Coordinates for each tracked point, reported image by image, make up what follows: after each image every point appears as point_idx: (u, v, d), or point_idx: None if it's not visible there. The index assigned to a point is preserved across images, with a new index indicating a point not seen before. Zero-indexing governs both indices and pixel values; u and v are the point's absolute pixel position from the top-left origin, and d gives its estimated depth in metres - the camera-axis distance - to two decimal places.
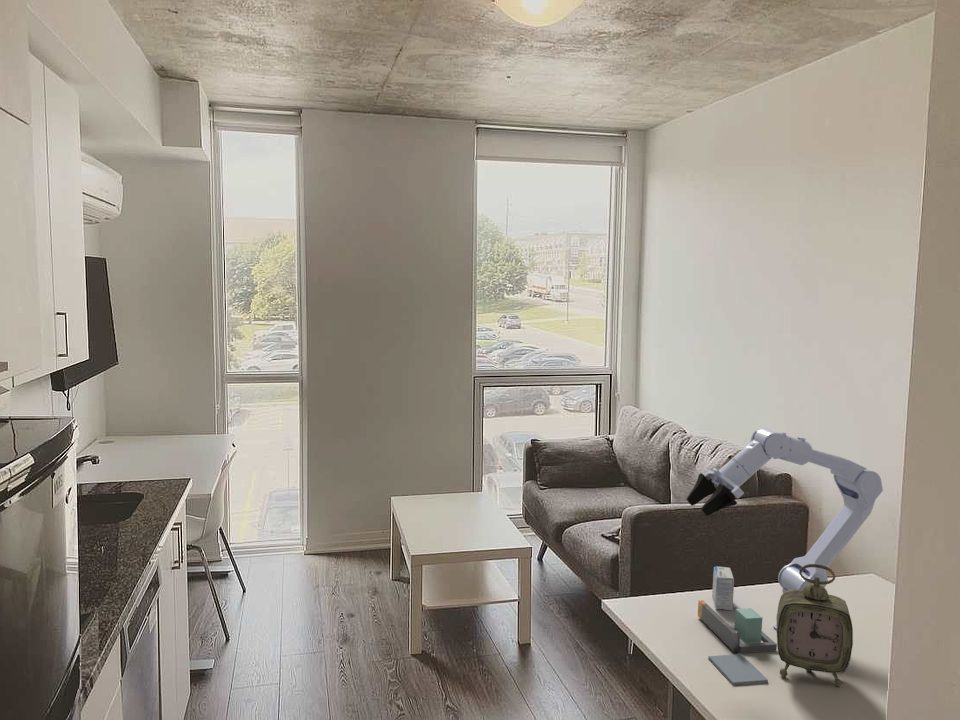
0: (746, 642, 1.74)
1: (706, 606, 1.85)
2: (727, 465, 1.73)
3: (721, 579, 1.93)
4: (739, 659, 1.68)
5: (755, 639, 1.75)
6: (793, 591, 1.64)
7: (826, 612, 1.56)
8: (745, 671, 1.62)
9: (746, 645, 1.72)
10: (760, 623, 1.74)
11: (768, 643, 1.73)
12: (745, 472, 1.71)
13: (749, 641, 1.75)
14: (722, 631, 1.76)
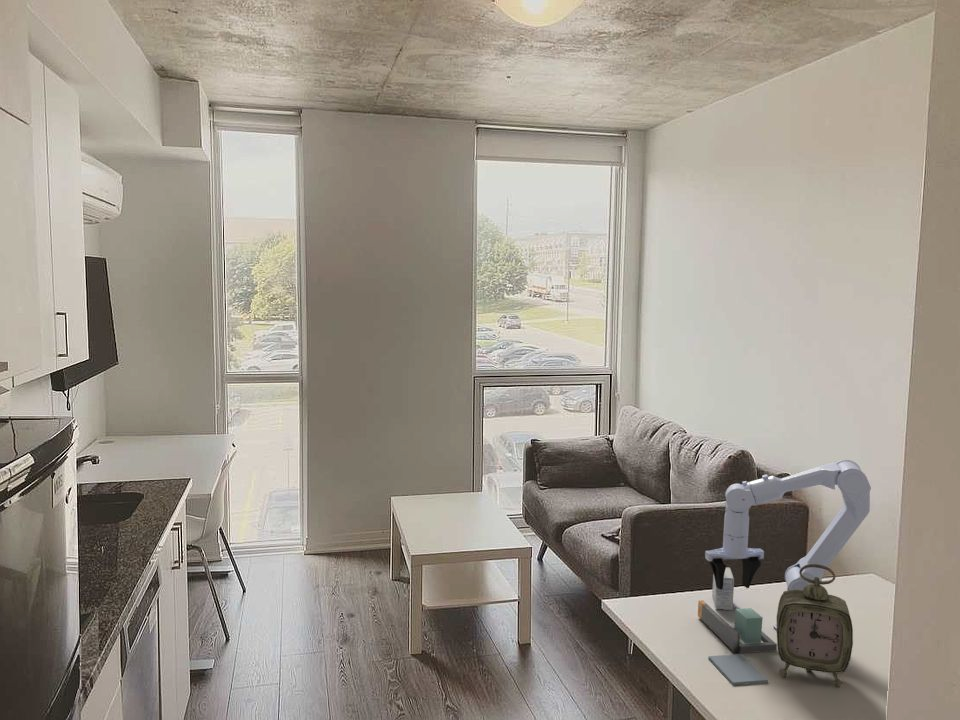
0: (746, 642, 1.74)
1: (706, 606, 1.85)
2: None
3: None
4: (739, 659, 1.68)
5: (755, 639, 1.75)
6: (793, 591, 1.64)
7: (826, 612, 1.56)
8: (745, 671, 1.62)
9: (746, 645, 1.72)
10: (760, 623, 1.74)
11: (768, 643, 1.73)
12: (724, 535, 1.83)
13: (749, 641, 1.75)
14: (722, 631, 1.76)
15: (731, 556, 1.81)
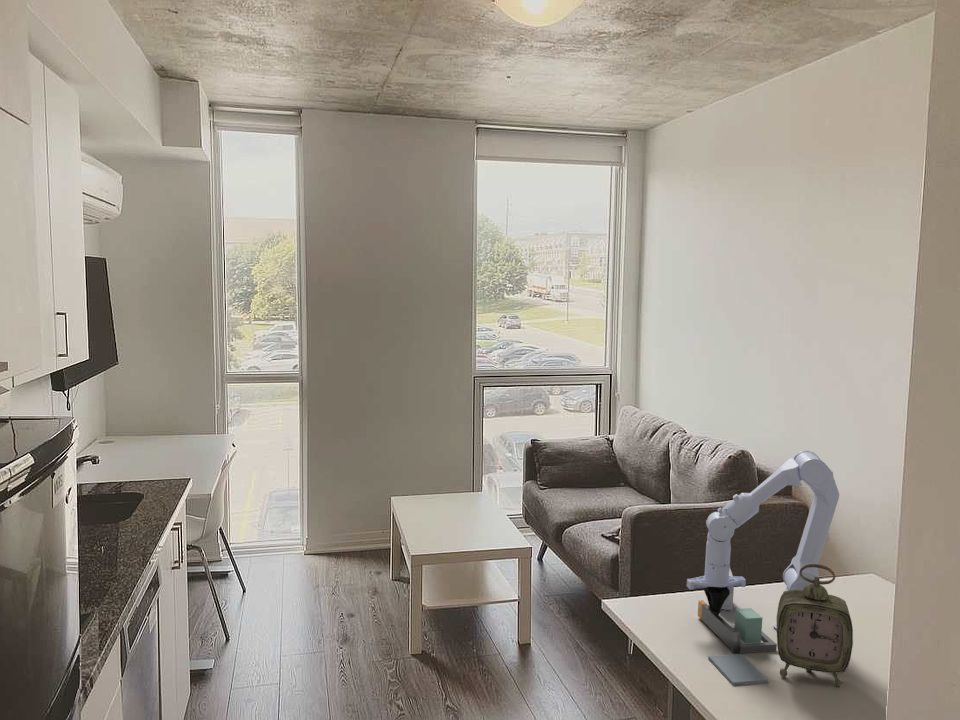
0: (746, 642, 1.74)
1: (706, 606, 1.85)
2: None
3: None
4: (739, 659, 1.68)
5: (755, 639, 1.75)
6: (793, 591, 1.64)
7: (826, 612, 1.56)
8: (745, 671, 1.62)
9: (746, 645, 1.72)
10: (760, 623, 1.74)
11: (768, 643, 1.73)
12: (706, 563, 1.83)
13: (749, 641, 1.75)
14: (722, 631, 1.76)
15: (712, 585, 1.81)
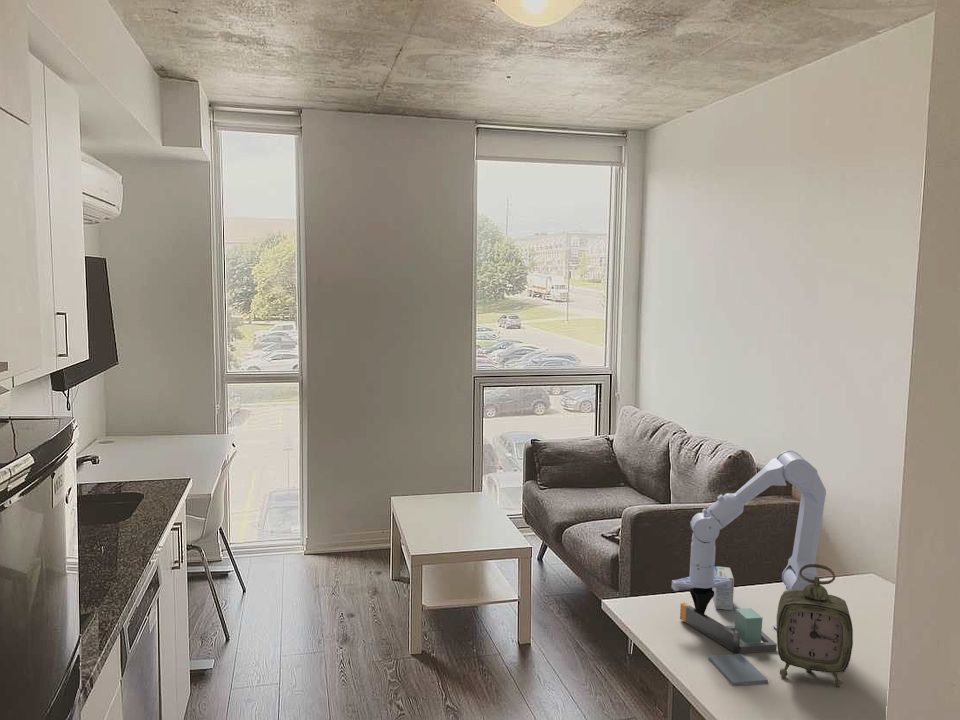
0: (746, 642, 1.74)
1: (692, 608, 1.84)
2: None
3: None
4: (739, 659, 1.68)
5: (755, 639, 1.75)
6: (793, 591, 1.64)
7: (826, 612, 1.56)
8: (745, 671, 1.62)
9: (746, 645, 1.72)
10: (760, 623, 1.74)
11: (768, 643, 1.73)
12: (691, 564, 1.83)
13: (749, 641, 1.75)
14: (717, 632, 1.76)
15: (697, 586, 1.81)
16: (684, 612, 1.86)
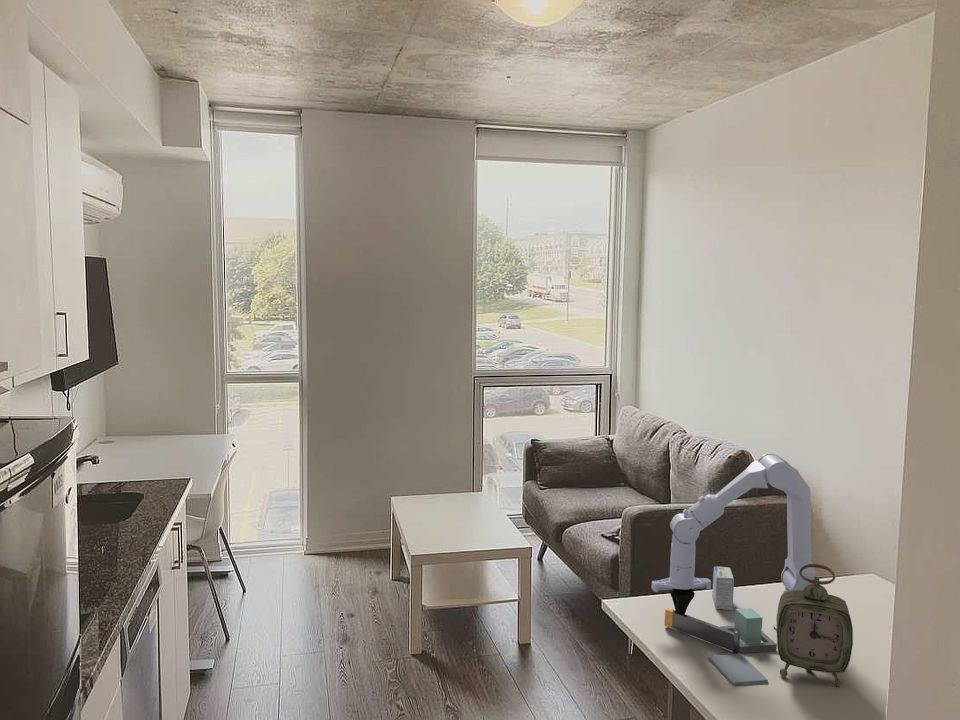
0: (746, 642, 1.74)
1: (679, 613, 1.81)
2: None
3: (721, 579, 1.93)
4: (739, 659, 1.68)
5: (755, 639, 1.75)
6: (793, 591, 1.64)
7: (826, 612, 1.56)
8: (745, 671, 1.62)
9: (746, 645, 1.72)
10: (760, 623, 1.74)
11: (768, 643, 1.73)
12: (671, 565, 1.82)
13: (749, 641, 1.75)
14: (713, 634, 1.74)
15: (677, 587, 1.80)
16: (670, 618, 1.82)
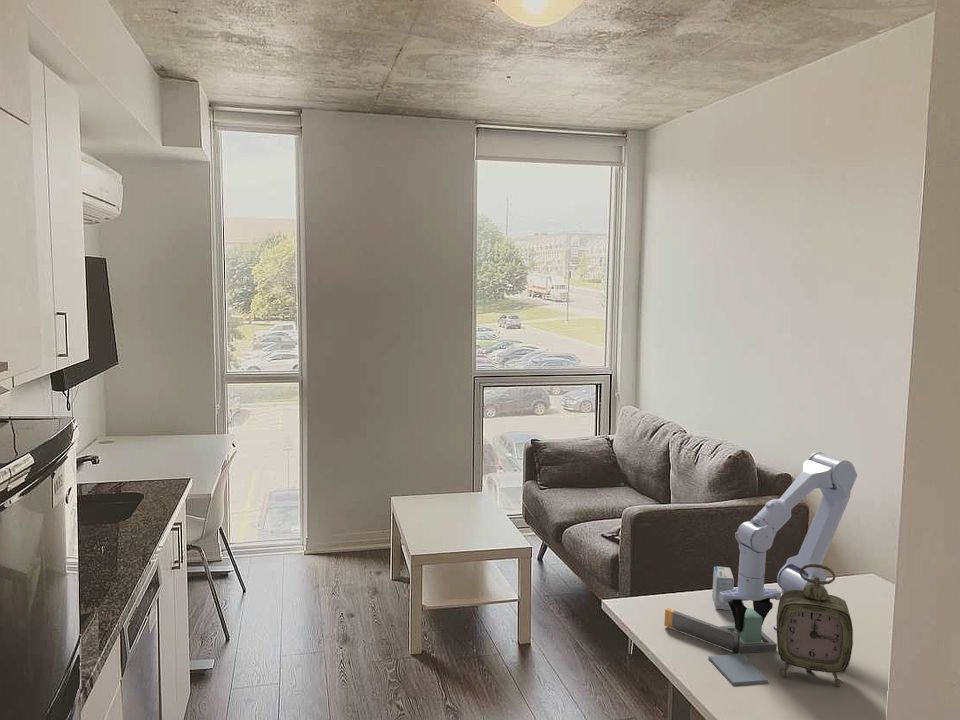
0: (746, 642, 1.74)
1: (679, 613, 1.81)
2: None
3: (721, 579, 1.93)
4: (739, 659, 1.68)
5: (755, 639, 1.75)
6: (793, 591, 1.64)
7: (826, 612, 1.56)
8: (745, 671, 1.62)
9: (746, 645, 1.72)
10: (760, 623, 1.74)
11: (768, 643, 1.73)
12: (740, 575, 1.75)
13: (749, 641, 1.75)
14: (713, 634, 1.74)
15: (747, 598, 1.73)
16: (670, 618, 1.82)
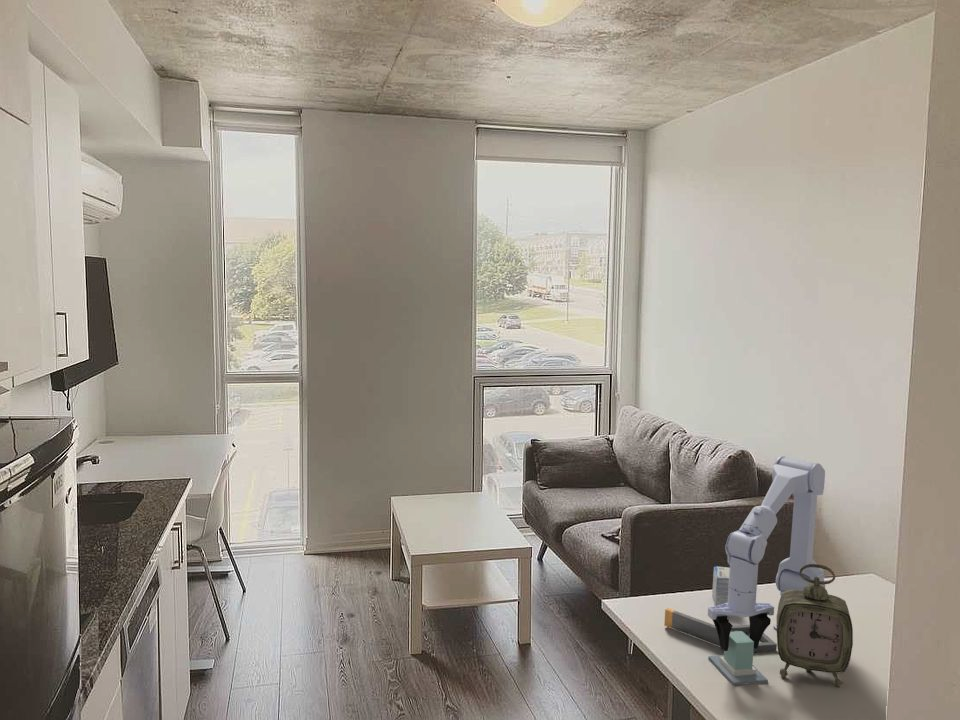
0: (736, 668, 1.61)
1: (679, 613, 1.81)
2: None
3: (721, 579, 1.93)
4: None
5: (746, 665, 1.61)
6: (793, 591, 1.64)
7: (826, 612, 1.56)
8: None
9: None
10: (751, 648, 1.61)
11: (768, 643, 1.73)
12: (730, 589, 1.61)
13: (739, 667, 1.61)
14: (713, 634, 1.74)
15: (738, 614, 1.60)
16: (670, 618, 1.82)
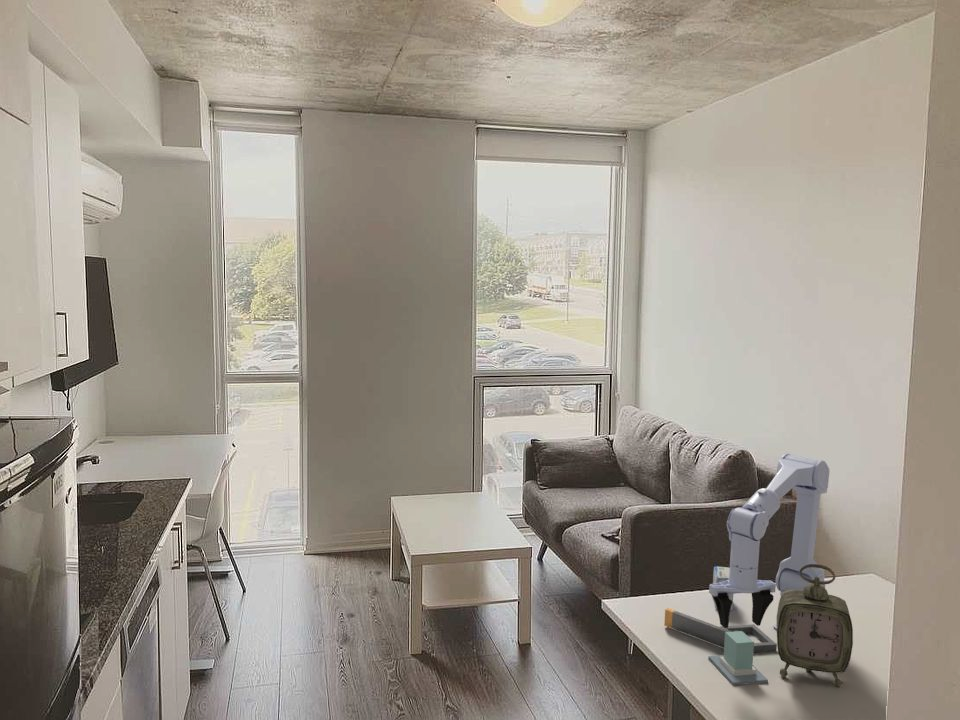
0: (736, 668, 1.61)
1: (679, 613, 1.81)
2: None
3: (721, 579, 1.93)
4: None
5: (746, 665, 1.61)
6: (793, 591, 1.64)
7: (826, 612, 1.56)
8: None
9: None
10: (751, 648, 1.61)
11: (768, 643, 1.73)
12: (731, 566, 1.61)
13: (739, 667, 1.61)
14: (713, 634, 1.74)
15: (739, 590, 1.59)
16: (670, 618, 1.82)
